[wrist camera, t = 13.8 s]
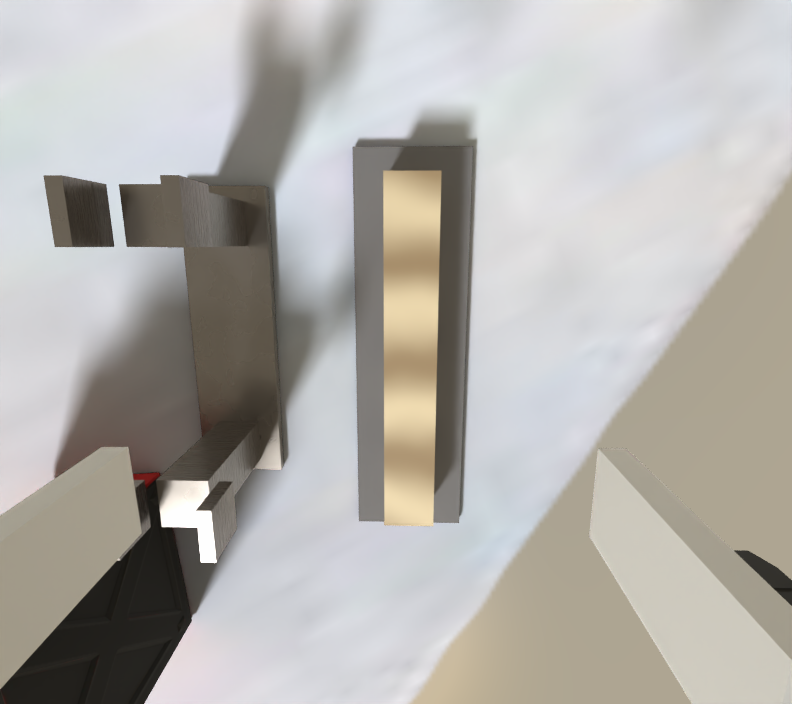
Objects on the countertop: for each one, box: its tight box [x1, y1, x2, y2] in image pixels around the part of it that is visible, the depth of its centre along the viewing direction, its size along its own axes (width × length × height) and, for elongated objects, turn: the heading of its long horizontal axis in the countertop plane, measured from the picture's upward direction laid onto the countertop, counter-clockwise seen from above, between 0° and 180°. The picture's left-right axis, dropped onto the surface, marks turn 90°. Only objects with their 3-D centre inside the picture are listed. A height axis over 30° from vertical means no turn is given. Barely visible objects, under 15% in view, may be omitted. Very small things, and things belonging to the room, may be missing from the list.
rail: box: [383, 171, 441, 526], centre depth 32 cm, size 24×4×4 cm, turn 0°
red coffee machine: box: [0, 473, 192, 704], centre depth 30 cm, size 16×10×20 cm, turn 4°
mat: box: [353, 146, 473, 523], centre depth 34 cm, size 28×8×1 cm, turn 0°
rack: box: [44, 175, 284, 563], centre depth 28 cm, size 21×6×13 cm, turn 0°
